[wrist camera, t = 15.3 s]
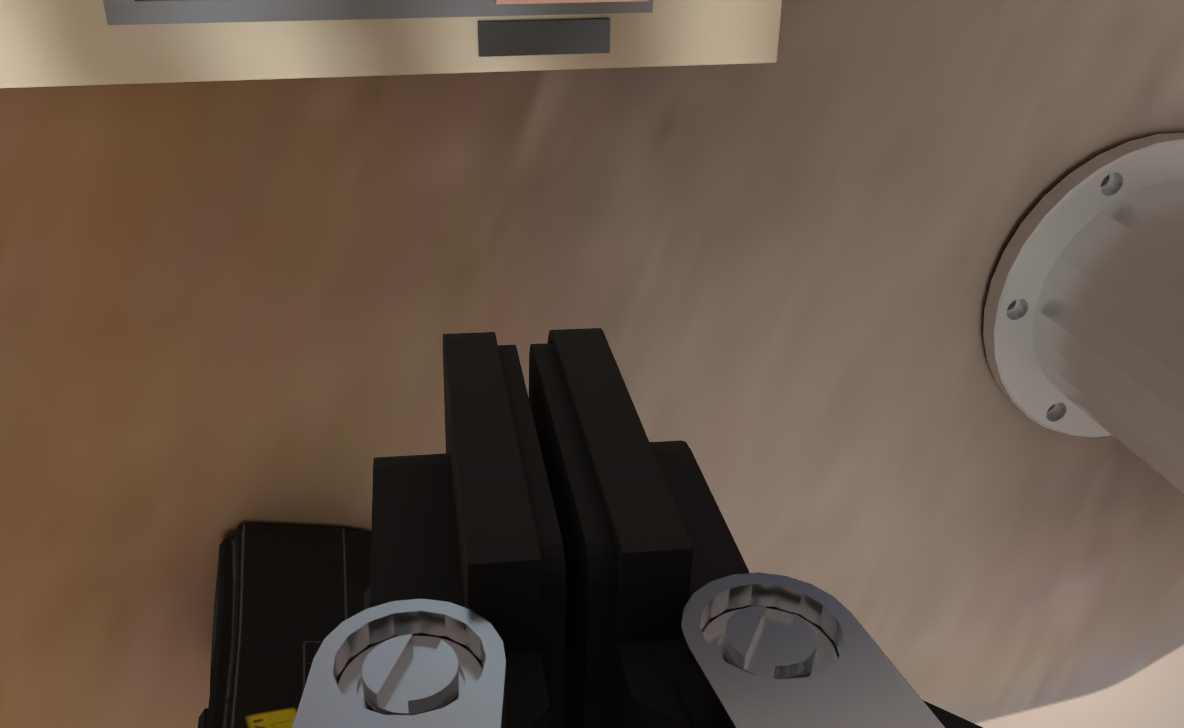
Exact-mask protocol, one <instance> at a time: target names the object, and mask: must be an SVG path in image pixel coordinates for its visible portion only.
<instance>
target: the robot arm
mask: <svg viewBox="0 0 1184 728" xmlns="http://www.w3.org/2000/svg"><path fill="white" fill-rule="evenodd" d="M983 339H984V345H985V351H986V358H987V362H988V364H989V367H990V369H991V372H992V374H993V377H994V379H995V381H996V383H997V385H998V386H999V387H1000V389H1001V390H1002V391H1003V393H1004V394H1005V395H1006V397H1007V398H1008V399H1009V401H1011V402H1012V403H1013V404H1014V405H1015V406H1016V407H1018V408H1019V409H1020V410H1021V411H1022V412H1023V413H1024V414H1025V415H1026V416H1027V417H1028V418H1030V419H1031V420H1033V421H1035V422H1036V423H1038V424H1039V425H1041V426H1042V427H1044V428H1046V429H1049V430H1052V431H1056V432H1059V433H1062V434H1065V435H1069V436H1077V437H1090V438H1098V437H1108V436H1114V437H1115V438H1116V439H1117V440H1119V441H1120V442H1121V443H1122V444H1123V445H1125V446H1126V447H1127V448H1128V449H1129V450H1131V451H1132V452H1133V453H1134V454H1136V455H1137V456H1138V457H1139V458H1140V459H1142V460H1143V461H1144V462H1145V463H1146V464H1148V465H1149V466H1150V467H1151V468H1152V469H1154V470H1155V471H1156V472H1157V473H1159V474H1160V475H1161V476H1162V477H1163V478H1165V479H1166V480H1167V481H1168V482H1169V483H1171V484H1172V485H1173V486H1174V487H1175V488H1177V489H1178V490H1179V491H1180V492H1182V493H1183V494H1184V133H1167V134H1156V135H1152V136H1148V137H1144V138H1140V139H1136V140H1132V141H1128V142H1126V143H1124V144H1122V145H1119V146H1117V147H1115V148H1113V149H1110V150H1108V151H1106V152H1104V153H1101V154H1099V155H1097V156H1096V157H1094V158H1093V159H1091V160H1090V161H1088V162H1087V163H1085V164H1084V165H1082V166H1081V167H1079V168H1077V169H1076V170H1074V171H1073V172H1071V173H1070V174H1069V175H1068V176H1066V177H1065V178H1064V179H1063V180H1062V181H1061V182H1060V183H1058V184H1057V185H1056V186H1055V187H1054V188H1053V189H1052V190H1050V191H1049V192H1048V193H1047V194H1046V195H1045V196H1044V197H1043V198H1042V199H1041V200H1040V202H1039V203H1038V204H1037V205H1036V206H1035V207H1034V209H1033V210H1032V211H1031V212H1030V213H1029V214H1028V216H1027V217H1026V218H1025V219H1024V220H1023V222H1022V223H1021V224H1020V226H1019V228H1018V229H1017V231H1016V232H1015V234H1014V236H1013V237H1012V239H1011V240H1010V242H1009V244H1008V245H1007V247H1006V248H1005V250H1004V252H1003V254H1002V257H1001V259H1000V261H999V264H998V266H997V268H996V271H995V273H994V275H993V278H992V280H991V284H990V288H989V292H988V296H987V300H986V305H985V309H984V328H983ZM443 366H444V400H445V433H446V454H432V455H414V456H397V457H379V458H374V464H373V498H372V536H371V574H370V608H368V609H365V610H363V611H362V612H360V613H358V614H356V615H354V616H352V617H350V618H349V619H347V620H345V621H343V622H342V623H341V624H340V625H339V626H338V627H336V628H335V629H334V630H333V631H332V632H331V633H330V634H329V635H328V636H327V637H326V638H325V639H324V640H323V642H322V644H321V646H320V648H319V650H318V651H317V653H316V655H315V657H314V659H313V662H312V665H311V669H310V672H309V675H308V678H307V682H306V685H305V688H304V691H303V694H302V698H301V701H300V704H299V707H298V711H297V714H296V717H295V720H294V723H293V727H292V728H982V727H980V726H978V725H976V724H974V723H971V722H969V721H967V720H965V719H963V718H961V717H958V716H956V715H954V714H952V713H950V712H947V711H945V710H943V709H941V708H939V707H936V706H934V705H932V704H930V703H928V702H926V701H923V700H922V699H921V698H920V696H919V695H918V694H917V693H916V691H915V690H914V689H913V688H912V687H911V685H910V684H909V683H908V682H907V680H906V679H905V678H904V677H903V676H902V674H901V673H900V672H899V671H898V669H897V668H896V667H895V666H894V665H893V663H892V662H891V661H890V660H889V658H888V657H887V656H886V655H885V654H884V652H883V651H882V650H881V649H880V647H879V646H878V645H877V644H876V642H875V641H874V640H873V639H872V638H871V636H870V635H869V634H868V633H867V631H866V630H865V629H864V628H863V627H862V625H861V624H860V623H859V622H858V620H857V619H856V618H855V617H854V616H853V614H852V613H851V612H850V611H849V610H848V609H847V608H845V607H844V606H843V605H842V604H841V603H840V602H839V601H838V600H837V599H836V598H835V597H833V596H832V595H830V594H828V593H826V592H824V591H823V590H821V589H819V588H817V587H815V586H814V585H812V584H809V583H806V582H803V581H800V580H797V579H794V578H790V577H787V576H782V575H774V574H766V573H749V571H748V568H747V566H746V564H745V562H744V560H743V558H742V556H741V554H740V552H739V550H738V548H737V545H736V543H735V541H734V539H733V537H732V535H731V533H730V531H729V529H728V527H727V524H726V522H725V520H724V518H723V516H722V514H721V512H720V510H719V508H718V506H717V504H716V501H715V499H714V497H713V495H712V493H711V491H710V489H709V487H708V485H707V483H706V481H705V478H704V476H703V474H702V472H701V470H700V468H699V466H698V464H697V462H696V460H695V458H694V455H693V453H692V451H691V449H690V448H689V446H688V445H687V443H686V442H684V441H665V442H649V440H648V438H647V436H646V433H645V431H644V428H643V426H642V424H641V421H640V419H639V416H638V414H637V412H636V409H635V407H634V404H633V402H632V400H631V397H630V395H629V392H628V390H627V388H626V385H625V383H624V380H623V378H622V376H621V373H620V371H619V368H618V366H617V364H616V361H615V359H614V356H613V354H612V352H611V349H610V347H609V344H608V342H607V340H606V337H605V335H604V332H603V331H602V329H601V328H593V329H567V330H550V332H549V335H548V344H531V346H530V353H529V398H528V394H527V390H526V386H525V382H524V377H523V373H522V369H521V365H520V361H519V357H518V352H517V348H516V345H499V346H498V345H497V340H496V335H495V332H487V333H461V334H443Z"/></svg>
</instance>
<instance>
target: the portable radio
mask: <svg viewBox="0 0 1184 728" xmlns="http://www.w3.org/2000/svg"><path fill="white" fill-rule="evenodd" d="M371 536H372V534H370V533H367V532H365V531H358V530H351V529H344V528H331V527H310V526H290V525H269V524H248V523H246V524H243V525H241V526H239V527H238V529H237V531H236V533H235V535H234V536H232V537H229V538H226V539H224V540H223V541H222V543H221V544H220V549H219V560H218V571H217V582H216V593H215V604H214V620H213V637H212V654H211V677H210V699H209V708H208V709H204V711H203V712H202V714H201V715H200V717H199V722H198V728H292V727H293V723H294V720H295V717H296V714H297V711H298V707H299V704H300V701H301V698H302V694H303V691H304V688H305V685H306V682H307V678H308V675H309V672H310V669H311V665H312V662H313V659H314V657H315V655H316V653H317V651H318V650H319V648H320V646H321V644H322V642H323V640H324V639H325V638H326V637H327V636H328V635H329V634H330V633H331V632H332V631H333V630H334V629H335V628H336V627H338V626H339V625H340V624H341V623H342V622H343V621H345V620H347V619H349V618H350V617H352V616H354V615H356V614H358V613H360V612H362V611H363V610H365V609H368V608H370V574H371Z"/></svg>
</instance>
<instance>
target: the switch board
mask: <svg viewBox="0 0 1184 728" xmlns="http://www.w3.org/2000/svg"><path fill="white" fill-rule="evenodd" d="M781 6H782V0H649V1H630V2H583V3H536V4H496V3H495V2H494V1H493V0H0V88H18V87H48V86H79V85H109V84H139V83H170V82H200V81H231V80H261V79H292V78H322V77H353V76H383V75H414V74H444V73H475V72H505V71H536V70H566V69H597V68H627V67H658V66H688V65H719V64H749V63H776V62H777V51H778V40H779V29H780V17H781Z"/></svg>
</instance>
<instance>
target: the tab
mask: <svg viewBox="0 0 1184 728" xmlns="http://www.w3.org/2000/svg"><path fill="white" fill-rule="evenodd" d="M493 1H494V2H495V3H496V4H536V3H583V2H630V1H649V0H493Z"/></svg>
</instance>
